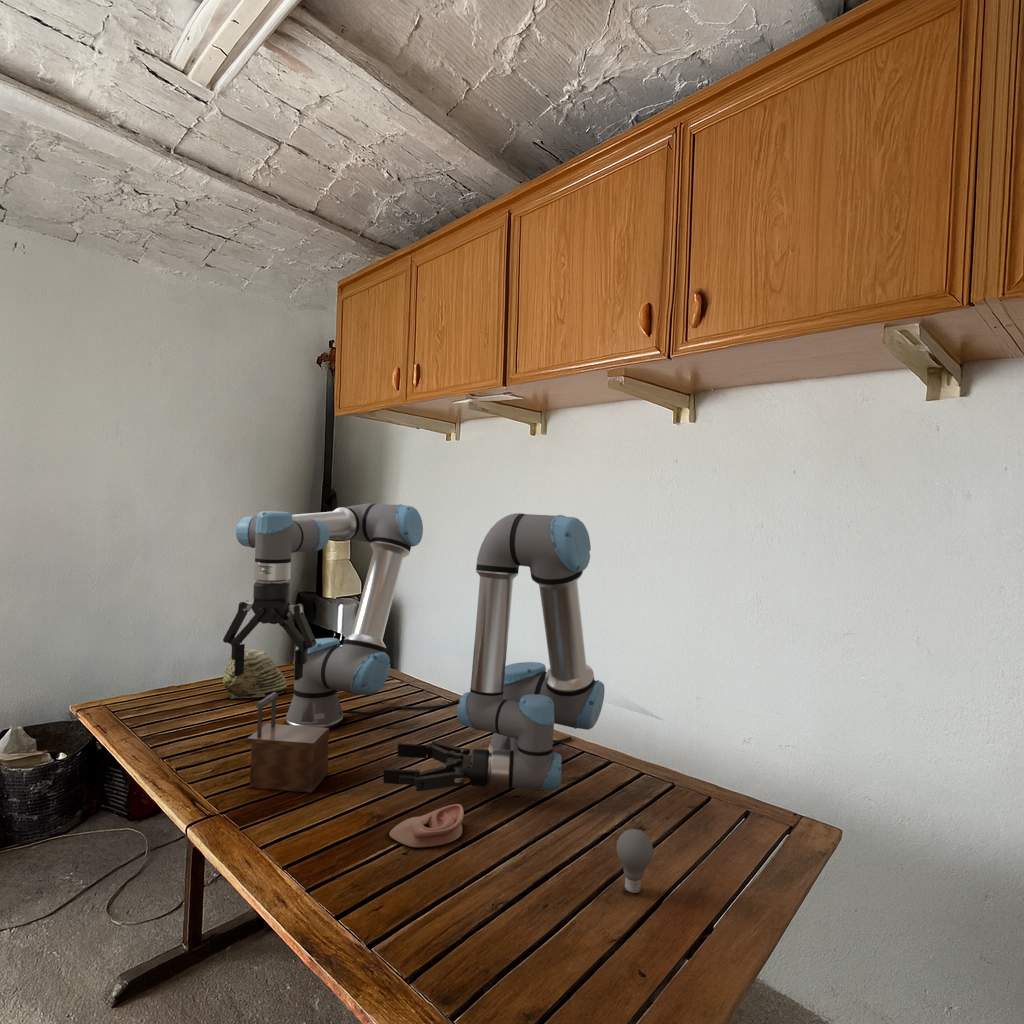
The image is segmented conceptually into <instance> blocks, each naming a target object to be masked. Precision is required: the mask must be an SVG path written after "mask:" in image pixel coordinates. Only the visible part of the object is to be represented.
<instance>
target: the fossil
mask: <svg viewBox="0 0 1024 1024" xmlns="http://www.w3.org/2000/svg"><path fill="white" fill-rule="evenodd" d="M234 672H235V660H232V658H231V656H230V657H229V659H228V660H227V663H226V666H225V668H224V671H223V675H222V676H223V677H222V685H223V687H224V688H225V690H226V691H228V693H229V698H230V699H250V698H266V697H267V696H269V695H270V694H272V693H273V692H276V693H278V695H281V694H284V693H285V691H286V689H287V687H288V686H287V680H286V678H285V676H284V674H283V673H282V672H281V669H279V668H278V667H277V665H276V663H275V662H274V660H273V659H272V658H271V657H270V656H269V655H268V654H267V653H266V652H265V650H264V649H263V648H260V647H258V648H251V647H247V646H246V647H245V652H244V673H243V674H241V675H239V676H234Z"/></svg>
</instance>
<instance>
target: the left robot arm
mask: <svg viewBox="0 0 1024 1024" xmlns="http://www.w3.org/2000/svg"><path fill="white" fill-rule="evenodd" d="M423 525H424V524H423V520H422V517H421V514H420V512H419V511H418V509H417V508H416V507H414V506H412V505H405V504H402V503H401V504H388V503H387V504H386V503H362V504H356V505H350V506H344V507H343V506H341V507H337V508H335V509H334V510H332V511H326V512H325V511H323V512H311V513H298V514H297V513H296V514H292V512H290V511H274V510H273V511H269V510H267V511H265V510H264V511H260V512H258V513H257V515H253V516H245V517H243V518H241V519H240V520H239V521H238V523H237V525H236V528H235V538H236V540H237V542H238V543H239V544H240V545H241V546H244V547H248V548H251V549H254V567H253V569H254V570H253V571H254V572H253V579H254V580H255V582H254V583H253V591H252V592H253V593H252V594H253V595H252V596H253V597H252V598H253V601H252V602H250V601H249V600H244V601H240V602H239V603H238V606H237V607H238V608H237V612H236V614H235V616H234V618H233V620H232V622H231V624H230V625H229V627H228V629H227V631H226V633H225V635H224V637H223V639H222V641H223V643H225V644H229V645H230V646H231V656H230V657H231V658H232V660H235V672H234V676H239V675H241V674H243V673H244V652H245V646H246V645H245V643H243V641H244V640H245V639H246V638H247V637H248V636H249V635H250V634H251V632H252V631H253V630H254V629H255V628H256V627H257V626H258V625H259V624H260V623H261V624H264V625H266V624H271V625H277V624H278V625H279V626H280V627H281V628H282V629H284V632H286V633H287V635H288V636H289V638H290V639H291V640H292V642H293V643H294V644H295V645H296V647H295V652H294V657H293V660H294V661H293V662H294V663H293V664H294V668H293V695H292V696H293V697H292V699H291V702H290V704H289V708H288V711H287V713H286V715H285V725H293V726H307V727H321V728H329V730H332V729H335V728H337V727H339V726H340V725H342V723H343V722H344V714H353V715H355V714H356V715H372V714H373V715H374V714H376V713H379V712H382V711H386V710H394V709H399V710H400V709H401V710H402V709H403V710H430V709H433V710H434V709H441V708H446V707H449V706H453V705H454V704H457V703H459V700H460V698H458V699H454V700H453V701H450V702H447V703H444V704H437V705H427V706H425V705H424V706H408V705H390V706H384V707H380V708H377V709H375V710H371V711H359V710H344V709H342V706H341V702H340V699H339V695H338V692H339V691H340V692H344V693H350V694H354V695H356V696H360V695H362V696H372V695H375V694H376V693H378V692H379V691H380V690H381V689H382V688H383V687H384V685H385V684H386V682H387V680H388V678H389V675H390V672H391V664H390V663H391V659H390V656H389V655H388V654H387V653H386V650H387V645H386V643H384V641H383V639H384V635H385V631H386V627H387V624H388V620H389V615H390V612H391V608H392V604H393V600H394V596H395V592H396V587H397V583H398V580H399V575H400V571H401V568H402V563H403V561H404V559H405V558H406V557H407V556H409V555H410V554H411V549H412V547H416V546H418V545H419V544H420V543H421V541H422V539H423V535H424V526H423ZM330 539H336V540H339V541H357V542H364V543H369V546H370V548H371V550H372V556H371V559H370V563H369V567H368V570H367V574H366V578H365V581H364V585H363V589H362V593H361V597H360V600H359V604H358V607H357V612H356V615H355V620H354V624H353V626H352V631H351V633H350V634H349V635H348V636H346V637H345V638H344V639H343V642H342V645H340V644H341V643H340V640H339V638H336V637H321V638H315V636H314V634H313V631H312V629H311V627H310V626H311V625H310V624H309V622H308V620H307V617H306V615H305V609H304V607H305V606H304V604H303V603H297V604H291V603H290V595H291V593H290V592H291V583H290V582H289V581H290V580H291V571H292V570H291V569H292V568H291V567H292V566H291V564H292V554H294V553H306V552H311V553H313V552H315V551H320V550H323V549H324V548H325V547H326V546H327V545H328V544H329V541H330ZM250 611H252V612H253V614H254V615H253V616H252V617H251V619H249V621H248V622H247V624H246V625H245V626H244V627H243V628H242V629H241V630H240V628H241V626H242V624H243V622H244V621H245V618H246V617H247V615H248V613H249V612H250ZM289 613H291V614H292V615H293V617H294V619H295V622H296V624H297V626H298V628H297V627H296V626H295V624H294V623H293V622H292V619H291V618H290V616H289V615H288V614H289ZM298 629H299V630H298ZM239 630H240V631H239ZM238 632H239V633H238Z"/></svg>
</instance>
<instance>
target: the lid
mask: <svg viewBox="0 0 1024 1024" xmlns="http://www.w3.org/2000/svg"><path fill="white" fill-rule="evenodd" d="M278 698H279V694H278V693H276V692H273V693H272V694H270V695H269V696H265V697H263V699H261V700H260V701H258V702H257V703H256V704H255V705H256V706H255V707H256V709H257V730H256V731H255V732H254V733H252V734H251V735H250V736H248V737H247V738H246V743H262V744H276V745H290V746H303V747H314V746H315V745H316V744H317V743H318V742H319V741H320V740H321V739H322V738H323V737H324V736H325V735H326V734H327V733H328V732H329V733H330V729H329V728H321V727H307V726H293V725H286V724H279V723H278V724H277V723H276V716H277V715H276V712H277V699H278ZM269 704H271V712H270V713H271V716H270V717H271V718H270V723H265V724H264V725H263V708H265V707H266V706H268V705H269Z"/></svg>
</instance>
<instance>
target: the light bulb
mask: <svg viewBox="0 0 1024 1024" xmlns="http://www.w3.org/2000/svg"><path fill="white" fill-rule="evenodd" d="M615 849H616V854H617V857H618V859H619V861H620V863H621V865H622V867H623V873H624V874H623V875H624V876H625V878H624V888H625V890H627V891H628V892H630V893H634V894H635V893H639V892H640V891H641V889H642V887H641V886H642V879H643V877H644V875H645V871H646V868H647V867H648V866H649V864H650V863H651V861H652V859H653V855H654V847H653V843H652V841H651V838H649V836H648V835H647V834H646V833H645V832H643V831H642V830H641V829H636V828H629V829H627V830H625V831H623V832H622V833H621V834H620V835H619V837H618V839H617V841H616V847H615Z"/></svg>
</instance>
